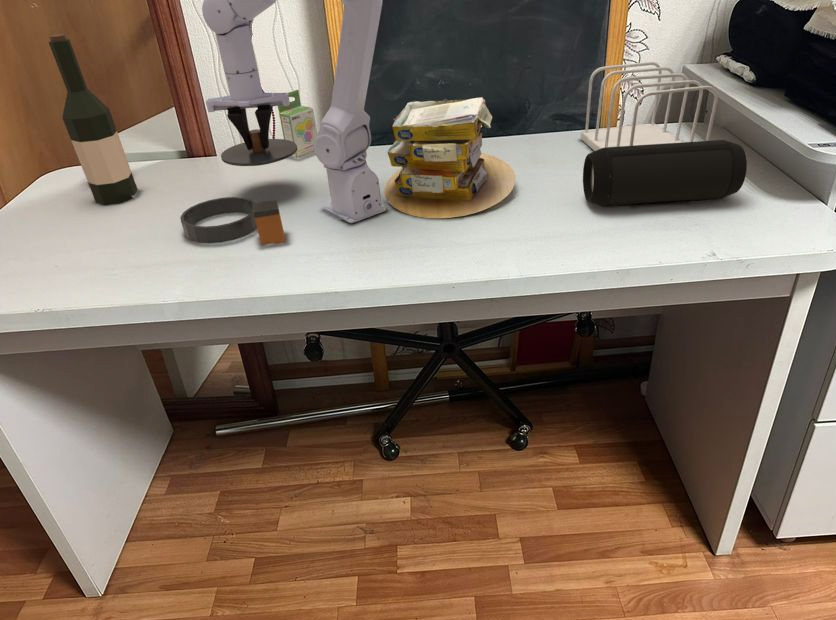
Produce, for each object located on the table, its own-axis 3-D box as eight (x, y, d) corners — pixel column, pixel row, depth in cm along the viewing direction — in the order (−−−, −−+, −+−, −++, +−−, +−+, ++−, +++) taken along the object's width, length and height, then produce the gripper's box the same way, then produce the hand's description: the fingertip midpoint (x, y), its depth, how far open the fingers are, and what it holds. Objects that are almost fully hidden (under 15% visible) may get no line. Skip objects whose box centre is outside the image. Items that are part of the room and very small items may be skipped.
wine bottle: (123, 205, 123) (61, 39, 106) (86, 204, 125) (19, 40, 107) (146, 189, 130) (92, 30, 112) (111, 188, 131) (52, 31, 114)
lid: (312, 152, 118) (308, 127, 115) (248, 175, 110) (242, 148, 107) (270, 139, 126) (265, 116, 123) (208, 159, 118) (201, 134, 115)
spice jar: (284, 234, 108) (276, 199, 104) (285, 244, 105) (278, 208, 101) (261, 238, 107) (252, 203, 104) (261, 248, 104) (253, 212, 100)
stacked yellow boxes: (479, 227, 106) (478, 128, 96) (360, 206, 116) (348, 114, 107) (533, 178, 123) (537, 89, 113) (425, 163, 133) (420, 81, 124)
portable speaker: (717, 186, 115) (729, 131, 109) (740, 207, 106) (755, 149, 101) (579, 195, 115) (584, 140, 109) (592, 217, 107) (598, 159, 101)
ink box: (298, 160, 139) (287, 98, 132) (286, 158, 142) (274, 96, 134) (321, 151, 144) (310, 90, 136) (309, 149, 146) (298, 88, 138)
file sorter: (579, 139, 140) (586, 65, 131) (653, 132, 142) (664, 58, 133) (624, 178, 120) (635, 94, 111) (709, 169, 122) (726, 84, 113)
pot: (274, 228, 110) (270, 210, 108) (204, 253, 104) (198, 234, 102) (241, 208, 119) (237, 191, 117) (174, 230, 112) (169, 212, 110)
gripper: (194, 78, 106) (215, 157, 114) (279, 72, 106) (294, 151, 114) (203, 70, 111) (223, 145, 119) (284, 63, 112) (298, 139, 120)
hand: (258, 147), depth 117 cm, fingers closed on lid, 2 cm apart
